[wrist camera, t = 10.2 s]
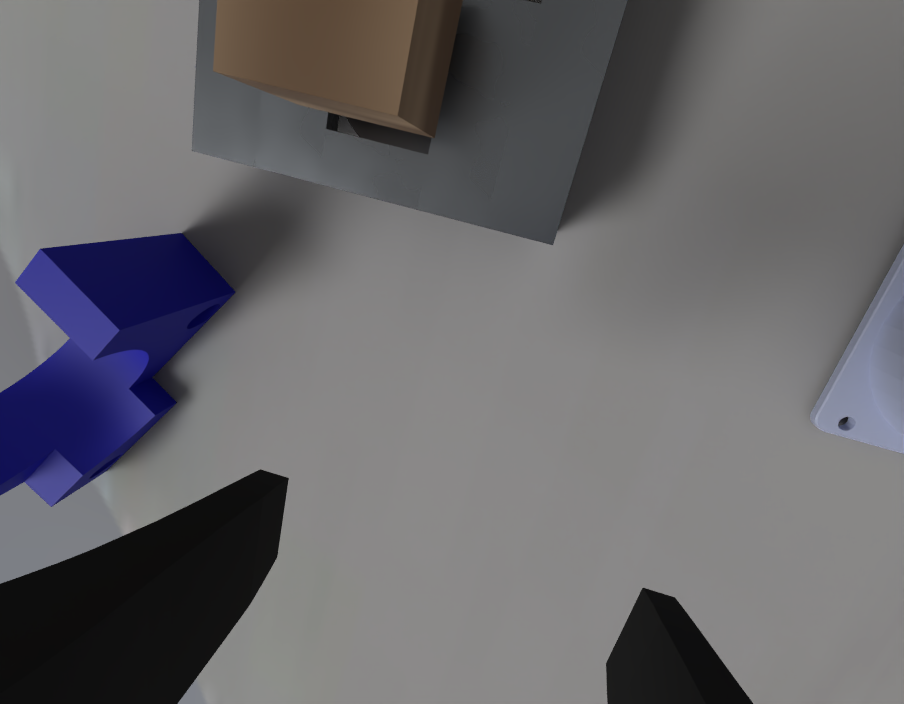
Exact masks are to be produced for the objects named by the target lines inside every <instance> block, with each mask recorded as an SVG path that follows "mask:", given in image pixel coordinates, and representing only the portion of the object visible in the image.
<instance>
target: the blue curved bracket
mask: <svg viewBox="0 0 904 704" xmlns="http://www.w3.org/2000/svg"><path fill="white" fill-rule="evenodd" d="M15 283H16V284H17V285H18V286H19V287H20V288H21V289H22V290H23V291H24V292H25V293H26V294H27V295H28V296H29V297H30V298H31V299H32V300H33V301H34V302H35V303H36V304H37V305H38V306H39V307H40V308H41V309H42V310H43V311H44V312H45V313H46V314H47V315H48V316H49V317H50V318H51V319H52V320H53V321H54V322H55V323H56V324H57V325H58V326H59V327H60V328H61V329H62V330H63V331H64V332H65V333H66V334H67V335H68V336H69V337H70V339H69V340H68V341H67V342H66V343H65V344H64V345H63V346H62V347H61V348H60V349H59V350H58V351H57V352H55V353H54V354H53V355H52V356H51V357H50V358H48V359H47V360H46V361H45V362H44V363H42V364H41V365H40V366H38V367H37V368H36V369H35V370H33V371H32V372H30V373H29V374H28V375H26V376H25V377H24V378H22V379H21V380H19V381H18V382H16V383H15V384H13V385H12V386H10V387H9V388H7V389H6V390H4V391H2V392H1V393H0V495H2V494H4V493H5V492H7V491H9V490H11V489H12V488H14V487H16V486H18V485H19V484H21V483H23V482H25V483H26V484H27V485H28V486H29V487H30V488H31V489H32V490H34V491H35V492H36V493H37V494H38V495H39V496H40V497H41V498H42V499H43V500H44V501H45V502H46V503H47V504H49V505H50V506H51V507H52V506H53V505H55V504H56V503H58V502H59V501H61V500H63V499H64V498H65V497H67V496H69V495H70V494H72V493H73V492H75V491H76V490H78V489H80V488H81V487H83V486H84V485H86V484H87V483H89V482H90V481H92V480H93V479H95V478H96V477H98V476H100V475H101V474H103V473H104V472H106V471H107V470H108V469H109V468H110V467H111V466H112V465H113V464H114V463H115V462H116V461H117V460H118V459H119V458H120V457H121V456H122V455H123V454H124V453H125V452H126V451H127V450H128V449H130V448H131V447H132V446H133V445H134V444H135V443H136V442H137V441H138V440H139V439H140V438H141V437H142V436H143V435H144V434H145V433H146V432H147V431H148V430H149V429H150V428H151V427H152V426H153V425H154V424H155V423H156V422H157V421H159V420H160V419H161V418H162V417H163V416H164V415H165V414H166V413H167V412H168V411H169V410H170V409H171V408H172V407H173V406H174V405H175V404H176V403H177V402H176V401H175V400H174V399H173V398H172V397H171V396H170V395H169V394H168V393H167V392H166V391H165V390H164V389H163V388H162V387H161V386H160V385H159V384H158V383H157V382H156V381H155V380H154V379H153V378H152V377H153V376H154V375H155V374H156V373H157V372H158V371H159V370H160V369H161V368H162V367H163V366H164V365H165V364H166V363H167V362H168V361H169V360H170V359H171V358H172V357H173V356H174V355H175V354H176V353H177V352H178V351H179V350H180V349H181V348H182V346H183V345H184V344H185V343H186V342H187V341H188V340H189V339H190V338H191V337H192V336H193V335H194V334H195V333H196V332H197V331H198V330H199V329H200V328H201V327H202V326H203V325H204V324H205V323H206V322H207V321H208V320H209V319H210V318H211V317H212V316H213V315H214V314H215V313H216V312H217V311H218V310H219V309H220V308H221V307H222V306H223V305H224V304H225V303H226V301H227V300H228V299H229V298H230V297H231V296H232V295H233V294H234V293H235V291H234V290H233V289H232V287H231V286H230V285H229V284H228V283H227V282H226V281H225V280H224V279H223V278H222V277H221V276H220V274H219V273H218V272H217V271H216V270H215V269H214V268H213V267H212V266H211V265H210V264H209V262H208V261H207V260H206V259H205V258H204V257H203V256H202V255H201V254H200V253H199V252H198V250H197V249H196V248H195V247H194V246H193V245H192V244H191V243H190V242H189V241H188V240H187V238H186V237H185V236H184V235H183V234H182V233H177V234H168V235H160V236H151V237H142V238H133V239H124V240H115V241H106V242H97V243H88V244H79V245H70V246H61V247H52V248H43V249H40V250H39V251H38V252H37V254H36V255H35V256H34V258H33V259H32V261H31V262H30V263H29V265H28V266H27V267H26V269H25V270H24V271H23V273H22V274H21V275H20V277H19V278H18V279H17V281H16V282H15Z"/></svg>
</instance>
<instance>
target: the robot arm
mask: <svg viewBox="0 0 904 704" xmlns="http://www.w3.org/2000/svg"><path fill="white" fill-rule="evenodd" d="M844 417H849V418H848V421H847V422H846V423H845V424H843V425H841V426H838V423H839V421H840V420H841V419H842V418H844ZM810 418H811V422H812V423H813V424H814V425H815V426H816V427H817V428H818V429H820V430H822V431H824V432H827V433H831V434H835V435H838V436H842V437H845V438H849V439H852V440H856V441H860V442H863V443H867V444H870V445H874V446H878V447H881V448H885V449H888V450H892V451H896V452H899V453H903V454H904V244H903V246H902V248H901V250H900V252H899V254H898V255H897V257H896V259H895V261H894V263H893V264H892V266H891V268H890V270H889V272H888V274H887V275H886V277H885V279H884V281H883V283H882V284H881V286H880V288H879V290H878V292H877V294H876V295H875V297H874V299H873V301H872V303H871V304H870V306H869V308H868V310H867V312H866V314H865V315H864V317H863V319H862V321H861V323H860V324H859V326H858V328H857V330H856V332H855V334H854V335H853V337H852V339H851V341H850V343H849V344H848V346H847V348H846V350H845V352H844V354H843V355H842V357H841V359H840V361H839V363H838V364H837V366H836V368H835V370H834V372H833V374H832V375H831V377H830V379H829V381H828V383H827V384H826V386H825V388H824V390H823V392H822V394H821V395H820V397H819V399H818V401H817V403H816V404H815V406H814V408H813V410H812V412H811V415H810ZM288 479H289V478H286V477H283V476H280V475H277V474H273V473H270V472H267V471H264V470H258V471H256V472H254V473H252V474H250V475H248V476H246V477H244V478H242V479H240V480H238V481H236V482H234V483H232V484H230V485H228V486H226V487H224V488H222V489H220V490H219V491H217V492H215V493H213V494H211V495H209V496H207V497H205V498H203V499H201V500H199V501H197V502H195V503H193V504H191V505H189V506H187V507H185V508H183V509H180V510H178V511H176V512H174V513H172V514H170V515H168V516H166V517H164V518H162V519H160V520H158V521H156V522H154V523H151V524H149V525H147V526H144V527H142V528H140V529H138V530H135V531H133V532H131V533H129V534H126V535H124V536H122V537H120V538H118V539H115V540H113V541H111V542H108V543H106V544H104V545H102V546H99V547H97V548H95V549H92V550H90V551H87V552H85V553H82V554H80V555H77V556H75V557H72V558H70V559H67V560H65V561H62V562H60V563H57V564H54V565H51V566H49V567H46V568H43V569H41V570H38V571H35V572H32V573H30V574H27V575H24V576H21V577H19V578H16V579H13V580H10V581H7V582H4V583H1V584H0V704H178V702H179V701H180V699H181V698H182V697H183V695H184V694H185V693H186V691H187V690H188V689H189V687H190V686H191V684H192V683H193V682H194V680H195V679H196V678H197V676H198V675H199V674H200V672H201V671H202V670H203V668H204V667H205V666H206V664H207V663H208V661H209V660H210V659H211V657H212V656H213V655H214V653H215V652H216V651H217V649H218V648H219V647H220V645H221V644H222V642H223V641H224V640H225V638H226V637H227V636H228V634H229V633H230V631H231V630H232V629H233V627H234V626H235V625H236V623H237V622H238V620H239V619H240V618H241V616H242V615H243V614H244V612H245V611H246V609H247V608H248V607H249V605H250V603H251V602H252V600H253V598H254V597H255V595H256V593H257V592H258V590H259V588H260V587H261V585H262V583H263V581H264V580H265V578H266V576H267V574H268V573H269V571H270V569H271V567H272V565H273V564H274V562H275V560H276V558H277V555H278V548H279V541H280V534H281V527H282V520H283V513H284V506H285V499H286V493H287V486H288ZM606 672H607V699H608V704H753V703H752V701H751V700H750V699H749V697H748V696H747V695H746V693H745V692H744V691H743V689H742V688H741V687H740V685H739V684H738V682H737V681H736V680H735V678H734V677H733V676H732V674H731V673H730V672H729V670H728V669H727V667H726V666H725V665H724V663H723V662H722V661H721V659H720V658H719V656H718V655H717V654H716V652H715V651H714V650H713V648H712V647H711V645H710V644H709V643H708V641H707V640H706V639H705V637H704V636H703V634H702V633H701V632H700V630H699V629H698V628H697V626H696V625H695V623H694V622H693V621H692V619H691V618H690V617H689V615H688V614H687V613H686V611H685V610H684V609H683V607H682V606H681V605H680V604H679V602H678V601H677V600H676V599H675V597H671V596H668V595H665V594H662V593H658V592H655V591H652V590H649V589H645V588H642V590H641V592H640V595H639V597H638V599H637V601H636V603H635V605H634V607H633V609H632V611H631V613H630V615H629V617H628V619H627V621H626V623H625V626H624V628H623V630H622V632H621V634H620V636H619V638H618V640H617V642H616V644H615V646H614V648H613V650H612V652H611V654H610V656H609V659H608V661H607V663H606Z"/></svg>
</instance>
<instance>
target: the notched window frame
mask: <svg viewBox="0 0 904 704" xmlns="http://www.w3.org/2000/svg"><path fill="white" fill-rule="evenodd" d="M627 1H628V0H542V2H541V4H540V3H536V2H531V1H527V0H463V2H462V7H461V12H460V17H459V22H458V27H457V32H456V36H455V41H454V46H453V51H452V56H451V61H450V66H449V71H448V75H447V80H446V85H445V90H444V95H443V100H442V105H441V110H440V114H439V119H438V124H437V129H436V134H435V138H431V143H430V148H429V153H428V155H427V154H423V153H419V152H415V151H411V150H407V149H403V148H399V147H396V146H392V145H388V144H384V143H380V142H376V141H372V140H368V139H364V138H360V137H356V136H352V135H348V134H344V133H340V132H337V127H338V120H339V115H338V114H334V113H329V112H325V111H321V110H317V109H313V108H309V107H305V106H301V105H298V104H295V103H293V102H290V101H288V100H285V99H283V98H280V97H278V96H275V95H272V94H270V93H267V92H265V91H262V90H260V89H257V88H255V87H252V86H250V85H247V84H245V83H242V82H239V81H237V80H234V79H232V78H229V77H227V76H224V75H222V74H219V73H217V72H214V71H213V63H214V46H215V30H216V14H217V0H199V17H198V37H197V57H196V76H195V96H194V116H193V135H192V151H195V152H198V153H202V154H206V155H210V156H214V157H217V158H221V159H225V160H229V161H233V162H237V163H240V164H244V165H248V166H252V167H256V168H260V169H263V170H267V171H271V172H275V173H279V174H283V175H286V176H290V177H294V178H298V179H302V180H305V181H309V182H313V183H317V184H321V185H325V186H328V187H332V188H336V189H340V190H344V191H348V192H351V193H355V194H359V195H363V196H367V197H370V198H374V199H378V200H382V201H386V202H390V203H393V204H397V205H401V206H405V207H409V208H413V209H416V210H420V211H424V212H428V213H432V214H436V215H439V216H443V217H447V218H451V219H455V220H458V221H462V222H466V223H470V224H474V225H478V226H481V227H485V228H489V229H493V230H497V231H501V232H504V233H508V234H512V235H516V236H520V237H523V238H527V239H531V240H535V241H539V242H543V243H546V244H550V245H553V243H554V240H555V237H556V233H557V230H558V227H559V223H560V220H561V217H562V214H563V210H564V207H565V204H566V201H567V197H568V194H569V191H570V187H571V184H572V181H573V178H574V174H575V171H576V168H577V165H578V161H579V158H580V155H581V151H582V148H583V145H584V142H585V138H586V135H587V132H588V129H589V125H590V122H591V119H592V116H593V112H594V109H595V106H596V102H597V99H598V96H599V93H600V89H601V86H602V83H603V80H604V76H605V73H606V70H607V66H608V63H609V60H610V57H611V53H612V50H613V47H614V44H615V40H616V37H617V34H618V30H619V27H620V24H621V21H622V17H623V14H624V11H625V8H626V4H627Z"/></svg>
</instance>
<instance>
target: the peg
mask: <svg viewBox="0 0 904 704" xmlns="http://www.w3.org/2000/svg"><path fill="white" fill-rule="evenodd" d="M462 2H463V0H217V14H216V30H215V46H214V63H213V71H214V72H217V73H219V74H222V75H224V76H227V77H229V78H232V79H234V80H237V81H239V82H242V83H245V84H247V85H250V86H252V87H255V88H257V89H260V90H262V91H265V92H267V93H270V94H272V95H275V96H278V97H280V98H283V99H285V100H288V101H290V102H293V103H295V104H298V105H301V106H305V107H309V108H313V109H317V110H321V111H325V112H329V113H334V114H338V115H342V116H346V117H347V119H348V121H349V123H350V124H351V126H352V127H353V129H354V130H355V132H356V133H357V134H358V135H359V136H360V138H364V139H368V140H372V141H376V142H380V143H384V144H388V145H392V146H396V147H399V148H403V149H407V150H411V151H415V152H419V153H423V154H427V155H428V153H429V148H430V143H431V138H435V134H436V129H437V124H438V119H439V114H440V110H441V105H442V100H443V95H444V90H445V85H446V80H447V75H448V71H449V66H450V61H451V56H452V51H453V46H454V41H455V36H456V32H457V27H458V22H459V17H460V12H461V7H462Z"/></svg>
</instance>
